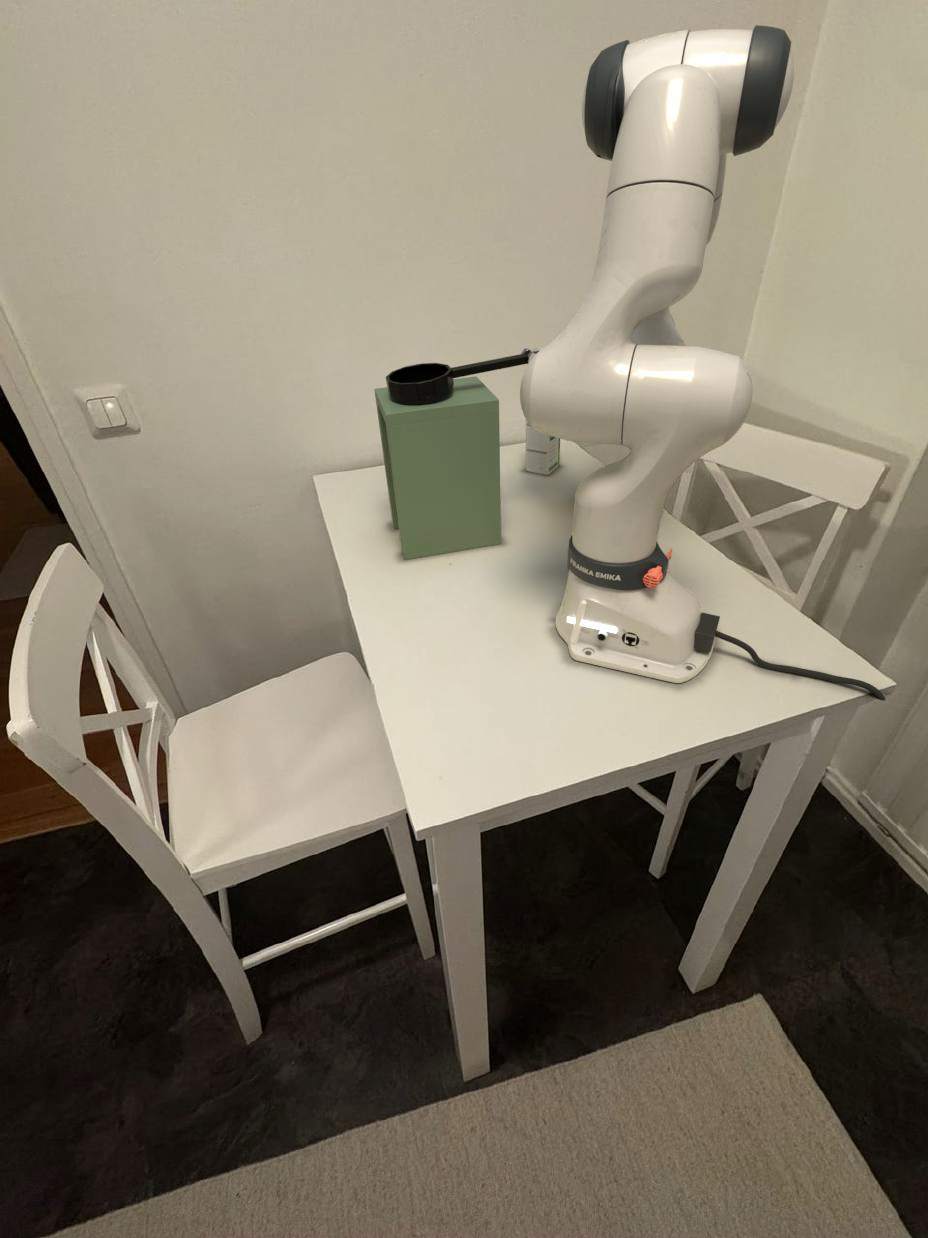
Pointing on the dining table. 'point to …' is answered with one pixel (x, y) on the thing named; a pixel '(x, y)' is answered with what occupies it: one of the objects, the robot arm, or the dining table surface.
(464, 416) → the green hollow pedestal
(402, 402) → the pan
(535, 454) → the syrup box
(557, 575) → the dining table surface
